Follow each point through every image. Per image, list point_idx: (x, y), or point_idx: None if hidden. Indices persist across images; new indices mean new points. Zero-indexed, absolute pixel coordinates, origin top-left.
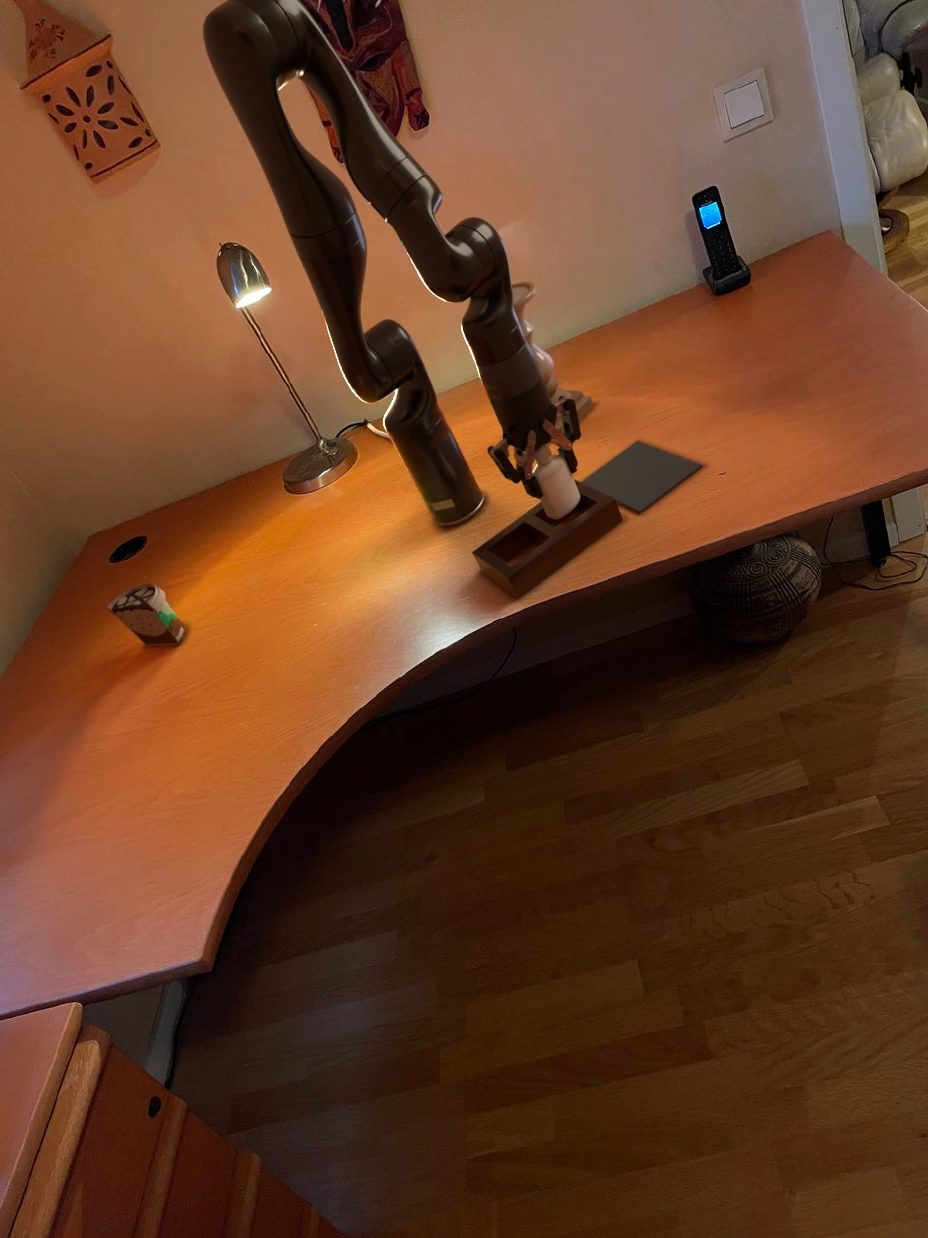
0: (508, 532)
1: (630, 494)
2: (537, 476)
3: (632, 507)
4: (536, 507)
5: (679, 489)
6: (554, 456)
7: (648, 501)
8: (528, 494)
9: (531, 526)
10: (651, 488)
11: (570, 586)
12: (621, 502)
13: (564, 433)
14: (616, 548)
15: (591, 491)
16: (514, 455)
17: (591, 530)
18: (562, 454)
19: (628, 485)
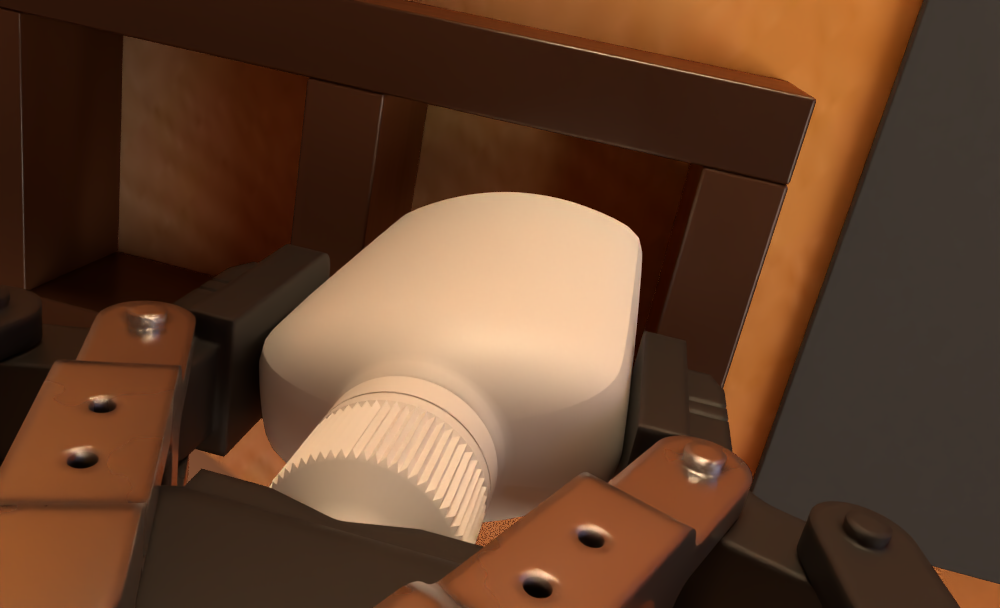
0: (186, 41)
1: (870, 392)
2: (270, 431)
3: (765, 462)
4: (451, 51)
5: (963, 594)
6: (525, 469)
7: None
8: (245, 267)
9: (299, 160)
10: (939, 478)
11: (233, 465)
12: (793, 381)
13: (776, 571)
14: (494, 524)
15: (704, 347)
16: (54, 374)
17: None
18: (621, 469)
19: (953, 332)
